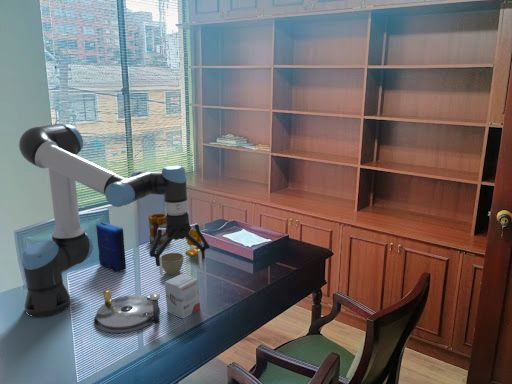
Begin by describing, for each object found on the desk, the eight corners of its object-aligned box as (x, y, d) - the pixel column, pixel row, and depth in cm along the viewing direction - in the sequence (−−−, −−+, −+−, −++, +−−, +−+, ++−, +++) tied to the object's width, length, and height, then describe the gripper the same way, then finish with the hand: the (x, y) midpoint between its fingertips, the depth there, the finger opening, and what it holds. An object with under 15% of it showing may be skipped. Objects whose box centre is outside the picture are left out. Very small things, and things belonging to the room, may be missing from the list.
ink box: (184, 302, 163) (182, 272, 160) (200, 309, 157) (199, 278, 154) (166, 311, 156) (163, 280, 153) (182, 319, 151) (180, 287, 148)
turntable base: (93, 339, 140) (90, 311, 138) (94, 306, 161) (91, 281, 158) (163, 325, 147) (161, 299, 145) (156, 296, 167) (154, 272, 165)
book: (97, 266, 195) (92, 223, 190) (108, 262, 199) (103, 220, 194) (118, 274, 187) (113, 229, 182) (128, 270, 191) (124, 226, 186)
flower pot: (179, 278, 182) (178, 262, 180) (157, 277, 184) (155, 261, 182) (188, 268, 191) (187, 253, 189) (166, 267, 193) (165, 251, 191)
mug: (172, 235, 232) (170, 208, 228) (168, 247, 216) (165, 217, 212) (151, 236, 232) (148, 209, 228) (145, 248, 216) (143, 218, 212)
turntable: (130, 334, 141) (128, 315, 139) (84, 321, 149) (81, 303, 147) (168, 306, 158) (167, 288, 156) (125, 295, 166) (123, 278, 165)
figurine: (180, 256, 205) (179, 231, 202) (193, 248, 214) (192, 224, 211) (196, 258, 201) (195, 233, 198) (208, 250, 211) (207, 226, 208)
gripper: (139, 220, 140) (145, 281, 146) (215, 210, 148) (219, 269, 153) (137, 213, 147) (143, 272, 153) (210, 205, 155) (214, 261, 160)
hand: (181, 271), depth 153 cm, fingers open, 13 cm apart
